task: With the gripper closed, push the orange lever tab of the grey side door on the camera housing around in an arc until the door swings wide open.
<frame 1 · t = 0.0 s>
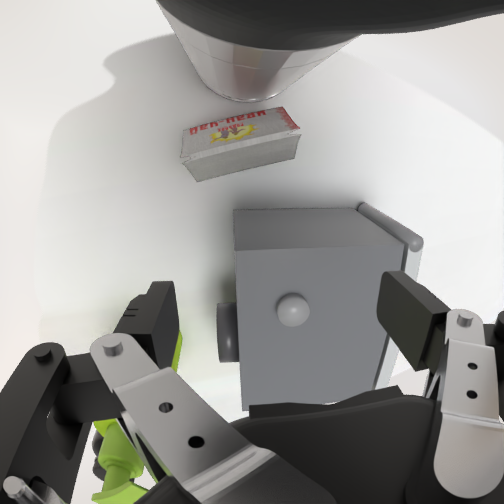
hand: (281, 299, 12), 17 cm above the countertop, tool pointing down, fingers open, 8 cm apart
supplement bottle: (132, 403, 36), on the countertop
camera housing: (292, 279, 31), on the countertop
side door: (370, 326, 27), point 5 cm above the countertop, hinge at 0.0°
tea bag: (237, 141, 26), on the countertop
soap dispenser: (158, 333, 32), on the countertop
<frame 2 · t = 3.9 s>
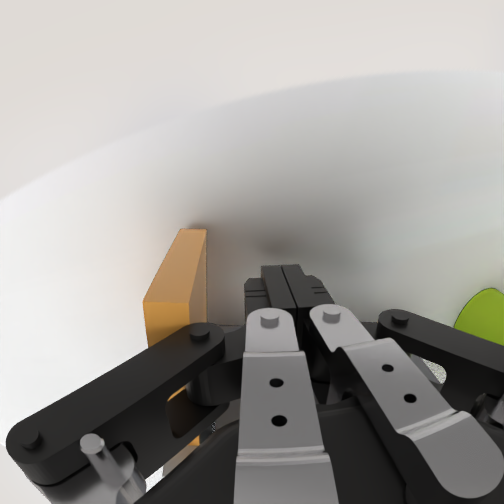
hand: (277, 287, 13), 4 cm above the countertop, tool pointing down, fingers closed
camera housing: (296, 406, 20), on the countertop
side door: (195, 443, 14), point 5 cm above the countertop, hinge at 0.7°, touching gripper
soap dispenser: (473, 324, 20), on the countertop
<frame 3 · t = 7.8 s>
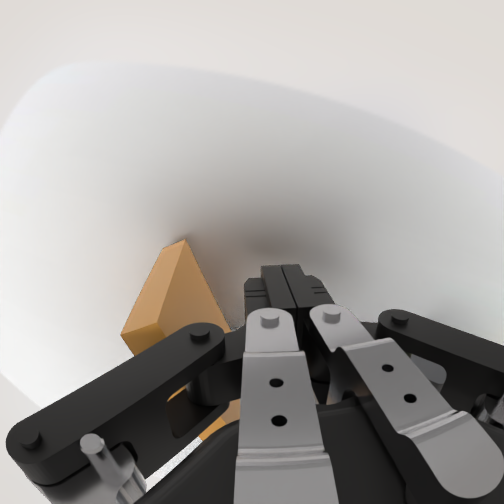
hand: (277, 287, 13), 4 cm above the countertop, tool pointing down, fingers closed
camera housing: (402, 404, 22), on the countertop
side door: (259, 440, 14), point 5 cm above the countertop, hinge at 52.2°, touching hand
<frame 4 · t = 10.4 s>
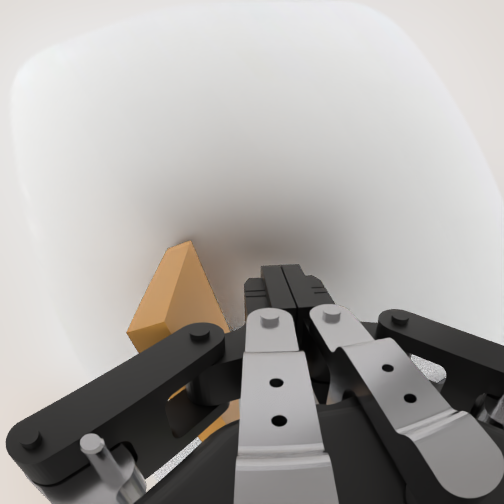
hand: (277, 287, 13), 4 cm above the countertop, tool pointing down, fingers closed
side door: (255, 442, 14), point 5 cm above the countertop, hinge at 84.1°, touching gripper, hand
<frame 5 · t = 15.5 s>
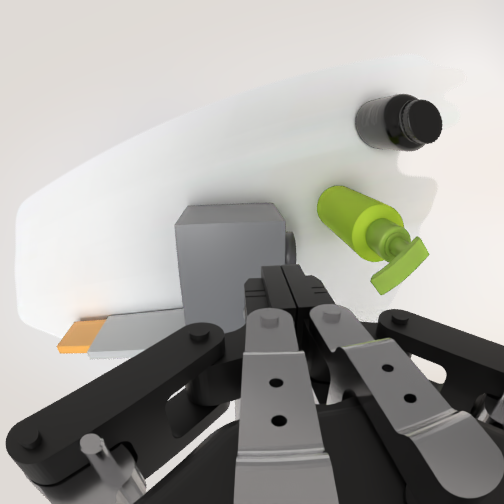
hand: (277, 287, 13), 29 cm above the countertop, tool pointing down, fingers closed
supplement bottle: (376, 124, 38), on the countertop
camera housing: (231, 255, 43), on the countertop
side door: (126, 334, 40), point 5 cm above the countertop, hinge at 96.1°
soap dispenser: (334, 209, 42), on the countertop
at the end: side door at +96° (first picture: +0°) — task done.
